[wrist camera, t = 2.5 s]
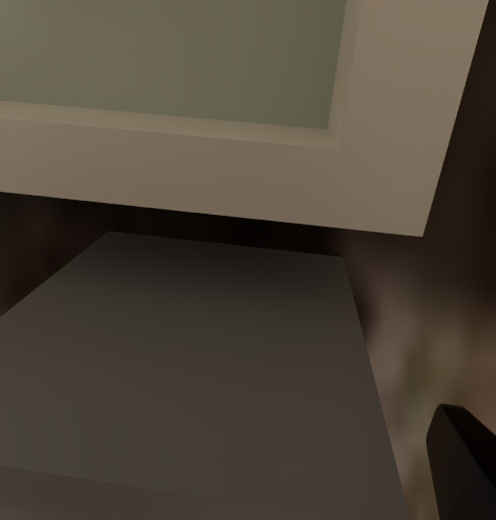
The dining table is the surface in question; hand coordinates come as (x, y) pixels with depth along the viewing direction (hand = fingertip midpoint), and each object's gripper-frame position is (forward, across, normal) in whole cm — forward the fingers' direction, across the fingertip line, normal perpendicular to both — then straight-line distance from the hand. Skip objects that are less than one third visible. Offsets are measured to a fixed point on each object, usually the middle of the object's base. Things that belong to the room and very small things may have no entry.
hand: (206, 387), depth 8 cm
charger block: (+2, 0, 0) cm, 2 cm away
